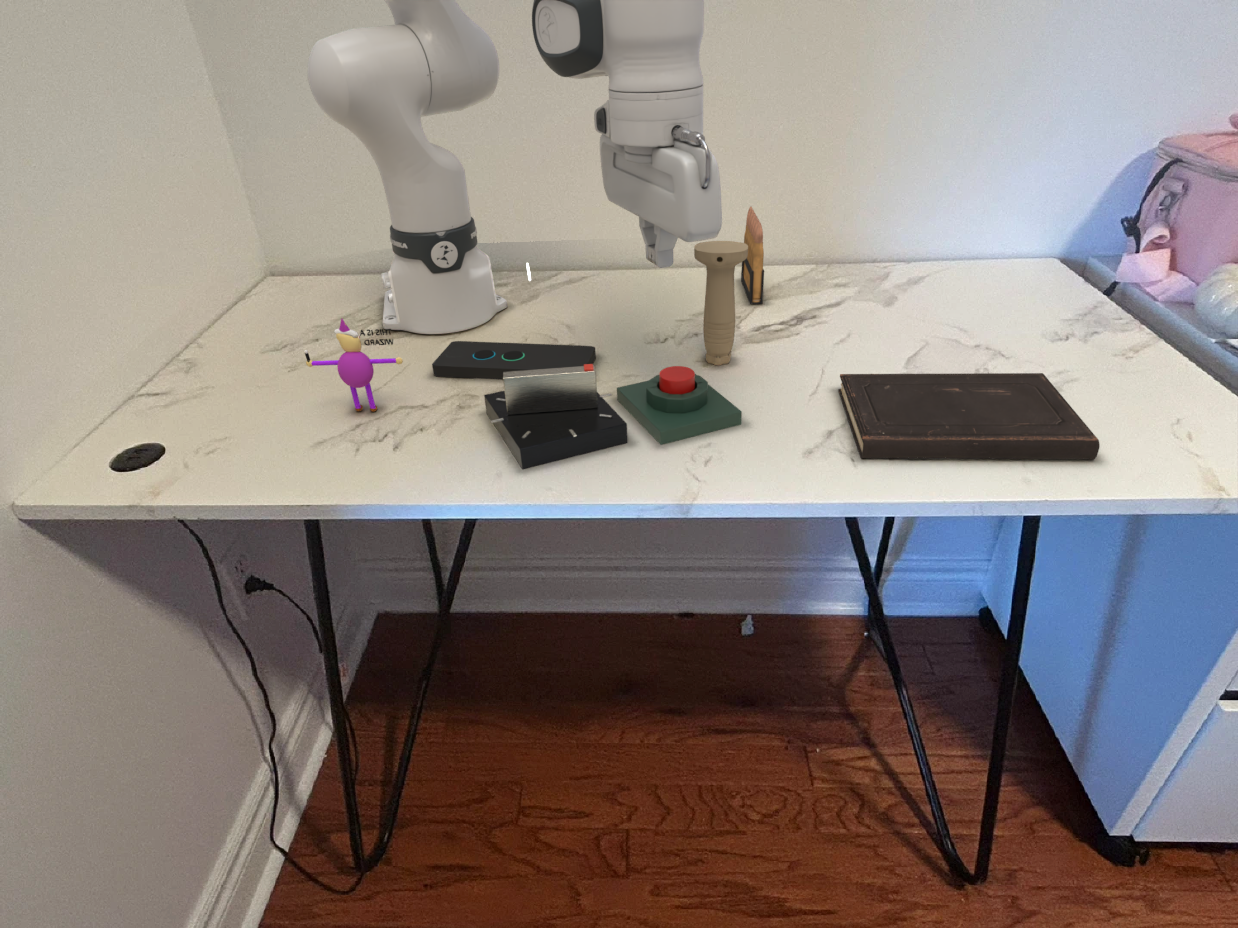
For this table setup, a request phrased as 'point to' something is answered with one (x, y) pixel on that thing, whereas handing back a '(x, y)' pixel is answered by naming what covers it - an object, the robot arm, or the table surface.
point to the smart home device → (507, 358)
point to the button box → (678, 410)
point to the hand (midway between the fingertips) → (659, 263)
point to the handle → (719, 296)
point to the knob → (550, 389)
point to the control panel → (556, 431)
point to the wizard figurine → (355, 362)
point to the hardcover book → (963, 417)
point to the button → (677, 380)
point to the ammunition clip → (753, 260)
